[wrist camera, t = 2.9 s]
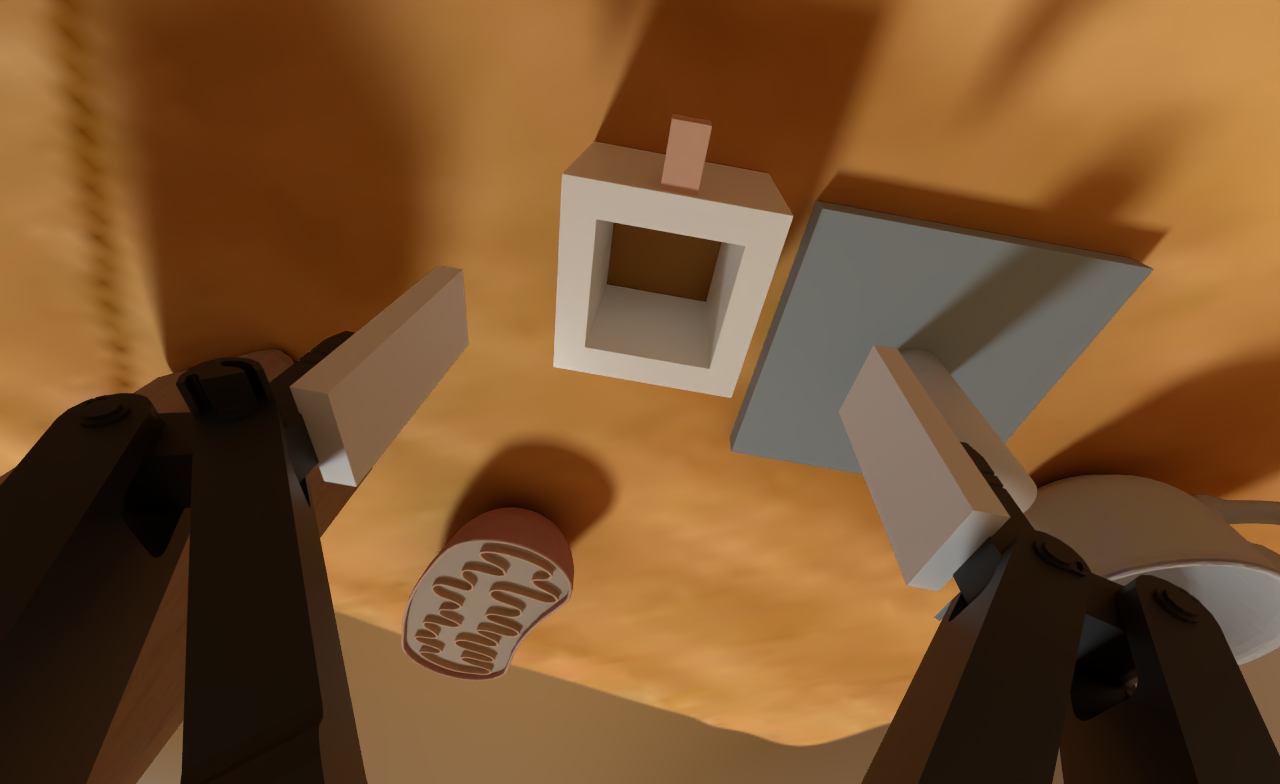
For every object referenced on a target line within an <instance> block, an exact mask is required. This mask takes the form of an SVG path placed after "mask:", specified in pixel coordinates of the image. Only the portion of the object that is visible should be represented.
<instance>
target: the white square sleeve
mask: <svg viewBox="0 0 1280 784" xmlns="http://www.w3.org/2000/svg"><path fill="white" fill-rule="evenodd" d="M711 129H712V123H711V120H706V119H700V118H695V117H689V116H684V115H679V114H673V116H672V121H671V127H670V133H669V139H668V145H667V151H666V154H660V153H655V152H649V151H644V150H639V149H633V148H628V147H622V146H617V145H611V144H606V143H600V142H595V141H594V142H593V143H592V144H591V145H590V146H589V147H588V148H587V149H586V150H585V151H584V152H583V153H582V154H581V155H580V156H579V157H578V158H577V159H576V160H575V161H574V162H573V163H572V164H571V165H570V166H569V167H568V168H567V169H566V170H565V171H564V172H563V174H562V188H561V210H560V232H559V255H558V277H557V299H556V321H555V343H554V366H553V367H557V368H563V369H568V370H574V371H580V372H585V373H591V374H597V375H603V376H608V377H614V378H620V379H626V380H631V381H637V382H643V383H649V384H654V385H660V386H666V387H671V388H677V389H683V390H689V391H694V392H700V393H706V394H712V395H717V396H723V397H729V398H732V395H733V392H734V389H735V386H736V383H737V380H738V377H739V374H740V371H741V368H742V365H743V363H744V360H745V357H746V354H747V351H748V348H749V345H750V342H751V339H752V336H753V333H754V330H755V327H756V325H757V322H758V319H759V316H760V313H761V310H762V307H763V304H764V301H765V298H766V295H767V292H768V289H769V286H770V284H771V281H772V278H773V275H774V272H775V269H776V266H777V263H778V260H779V257H780V254H781V251H782V248H783V246H784V243H785V240H786V237H787V234H788V231H789V228H790V225H791V222H792V219H793V214H792V213H791V211H790V209H789V207H788V206H787V204H786V202H785V200H784V199H783V197H782V195H781V194H780V192H779V190H778V188H777V187H776V185H775V183H774V182H773V180H772V178H771V176H770V175H769V173H764V172H758V171H753V170H747V169H742V168H736V167H731V166H726V165H720V164H715V163H709V162H705V158H706V153H707V148H708V144H709V139H710V134H711ZM614 223H620V224H625V225H631V226H636V227H642V228H647V229H653V230H658V231H664V232H670V233H675V234H681V235H686V236H692V237H697V238H703V239H708V240H714V241H719V242H721V246H720V250H719V254H718V258H717V261H716V265H715V269H714V273H713V277H712V281H711V285H710V288H709V292H708V296H707V300H706V302H704V301H698V300H693V299H687V298H681V297H676V296H670V295H665V294H659V293H653V292H648V291H642V290H636V289H631V288H625V287H620V286H614V285H608V284H607V278H608V270H609V261H610V252H611V243H612V235H613V226H614Z"/></svg>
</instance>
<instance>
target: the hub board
mask: <svg viewBox="0 0 1280 784" xmlns="http://www.w3.org/2000/svg"><path fill="white" fill-rule="evenodd" d="M1153 270H1154V269H1153V268H1151V267H1148V266H1146V265H1144V264H1142V263H1140V262H1138V261H1136V260H1134V259H1132V258H1127V257H1122V256H1116V255H1111V254H1105V253H1100V252H1094V251H1089V250H1083V249H1078V248H1072V247H1067V246H1062V245H1056V244H1051V243H1045V242H1040V241H1034V240H1029V239H1023V238H1018V237H1012V236H1007V235H1001V234H996V233H991V232H985V231H980V230H974V229H969V228H963V227H958V226H952V225H947V224H941V223H936V222H930V221H925V220H920V219H914V218H909V217H903V216H898V215H892V214H887V213H881V212H876V211H870V210H865V209H860V208H854V207H849V206H843V205H838V204H832V203H827V202H821V201H816V203H815V206H814V208H813V211H812V214H811V217H810V219H809V222H808V225H807V228H806V230H805V233H804V236H803V239H802V241H801V244H800V247H799V250H798V252H797V255H796V258H795V261H794V263H793V266H792V269H791V272H790V274H789V277H788V280H787V283H786V285H785V288H784V291H783V294H782V296H781V299H780V302H779V305H778V307H777V310H776V313H775V316H774V318H773V321H772V324H771V327H770V329H769V332H768V335H767V338H766V340H765V343H764V346H763V349H762V351H761V354H760V357H759V360H758V362H757V365H756V368H755V371H754V373H753V376H752V379H751V382H750V384H749V387H748V390H747V393H746V395H745V398H744V401H743V404H742V406H741V409H740V412H739V415H738V417H737V420H736V423H735V426H734V428H733V431H732V434H731V437H730V443H731V452H736V453H742V454H748V455H754V456H759V457H765V458H771V459H777V460H783V461H789V462H794V463H800V464H806V465H812V466H818V467H823V468H829V469H835V470H841V471H847V472H852V473H858V474H863V473H862V470H861V468H860V465H859V463H858V460H857V457H856V455H855V452H854V450H853V447H852V445H851V442H850V440H849V437H848V435H847V432H846V429H845V427H844V424H843V422H842V419H841V417H840V414H839V410H840V408H841V406H842V404H843V403H844V401H845V399H846V397H847V395H848V393H849V391H850V389H851V387H852V385H853V383H854V381H855V380H856V378H857V376H858V374H859V372H860V370H861V368H862V366H863V364H864V362H865V360H866V358H867V356H868V355H869V353H870V351H871V349H872V347H873V345H877V346H883V347H888V348H894V349H898V351H899V352H900V354H901V355H902V357H903V358H904V360H905V361H906V363H907V364H908V366H909V367H910V369H911V370H912V372H913V373H914V375H915V376H916V378H917V379H918V381H919V382H920V383H921V385H922V386H923V388H924V389H925V391H926V392H927V394H928V395H929V397H930V398H931V400H932V401H933V403H934V404H935V406H936V407H937V409H938V410H939V412H940V413H941V415H942V416H943V418H944V419H945V421H946V422H947V424H948V425H949V427H950V428H951V429H952V431H953V432H954V434H955V435H956V437H957V438H958V440H959V441H960V442H965V443H968V444H969V445H970V446H971V447H972V448H973V449H974V450H976V451H977V452H978V453H979V454H980V455H981V456H983V457H984V459H985V460H986V461H987V463H988V464H989V466H990V467H991V468H992V470H993V471H994V476H997V477H998V478H999V480H1000V481H1001V483H1002V484H1003V485H1004V486H1003V488H1005V489H1006V490H1007V491H1008V493H1009V494H1010V495H1011V497H1012V498H1013V500H1014V501H1015V502H1016V504H1017V505H1018V507H1019V508H1020V509H1021V511H1022V512H1023V513H1024V512H1025V511H1026V510H1028V509H1029V508H1030V506H1031V505H1032V504H1033V502H1034V501H1035V499H1036V496H1037V487H1036V485H1035V483H1034V481H1033V480H1032V479H1031V478H1030V476H1029V475H1028V474H1027V472H1026V471H1025V470H1024V468H1023V467H1022V466H1021V465H1020V463H1019V462H1018V461H1017V459H1016V458H1015V457H1014V456H1013V454H1012V453H1011V452H1010V450H1009V449H1008V448H1007V447H1006V445H1005V444H1004V443H1005V442H1006V441H1007V440H1008V439H1009V437H1010V436H1011V435H1012V434H1013V433H1014V432H1015V430H1016V429H1017V428H1018V427H1019V426H1020V425H1021V423H1022V422H1023V421H1024V420H1025V419H1026V418H1027V416H1028V415H1029V414H1030V413H1031V412H1032V411H1033V409H1034V408H1035V407H1036V406H1037V405H1038V404H1039V402H1040V401H1041V400H1042V399H1043V398H1044V397H1045V395H1046V394H1047V393H1048V392H1049V391H1050V390H1051V388H1052V387H1053V386H1054V385H1055V384H1056V383H1057V381H1058V380H1059V379H1060V378H1061V377H1062V376H1063V374H1064V373H1065V372H1066V371H1067V370H1068V369H1069V367H1070V366H1071V365H1072V364H1073V363H1074V362H1075V360H1076V359H1077V358H1078V357H1079V356H1080V355H1081V353H1082V352H1083V351H1084V350H1085V349H1086V348H1087V346H1088V345H1089V344H1090V343H1091V342H1092V341H1093V339H1094V338H1095V337H1096V336H1097V335H1098V334H1099V332H1100V331H1101V330H1102V329H1103V328H1104V327H1105V326H1106V324H1107V323H1108V322H1109V321H1110V320H1111V319H1112V317H1113V316H1114V315H1115V314H1116V313H1117V312H1118V310H1119V309H1120V308H1121V307H1122V306H1123V305H1124V303H1125V302H1126V301H1127V300H1128V299H1129V298H1130V296H1131V295H1132V294H1133V293H1134V292H1135V291H1136V289H1137V288H1138V287H1139V286H1140V285H1141V284H1142V282H1143V281H1144V280H1145V279H1146V278H1147V277H1148V275H1149V274H1150V273H1151V272H1152V271H1153Z"/></svg>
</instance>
